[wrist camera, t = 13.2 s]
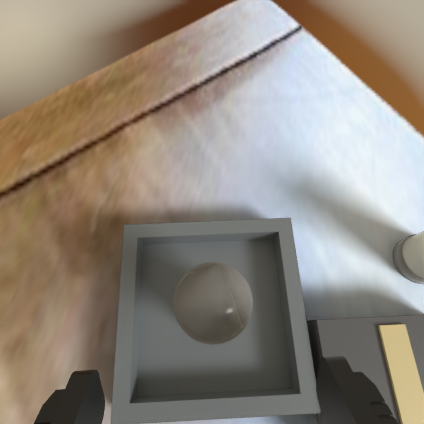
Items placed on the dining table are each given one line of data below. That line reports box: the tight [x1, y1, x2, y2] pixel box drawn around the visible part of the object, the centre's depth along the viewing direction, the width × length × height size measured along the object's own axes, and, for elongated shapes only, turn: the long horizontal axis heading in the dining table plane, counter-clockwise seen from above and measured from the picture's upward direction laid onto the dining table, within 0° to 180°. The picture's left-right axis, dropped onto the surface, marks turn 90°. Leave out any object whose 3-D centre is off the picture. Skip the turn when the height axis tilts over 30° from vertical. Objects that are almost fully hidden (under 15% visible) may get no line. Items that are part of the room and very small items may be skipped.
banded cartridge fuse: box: [173, 262, 253, 345], centre depth 17 cm, size 4×4×8 cm
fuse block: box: [307, 315, 424, 424], centre depth 18 cm, size 9×8×3 cm
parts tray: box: [111, 218, 321, 424], centre depth 20 cm, size 12×12×2 cm
